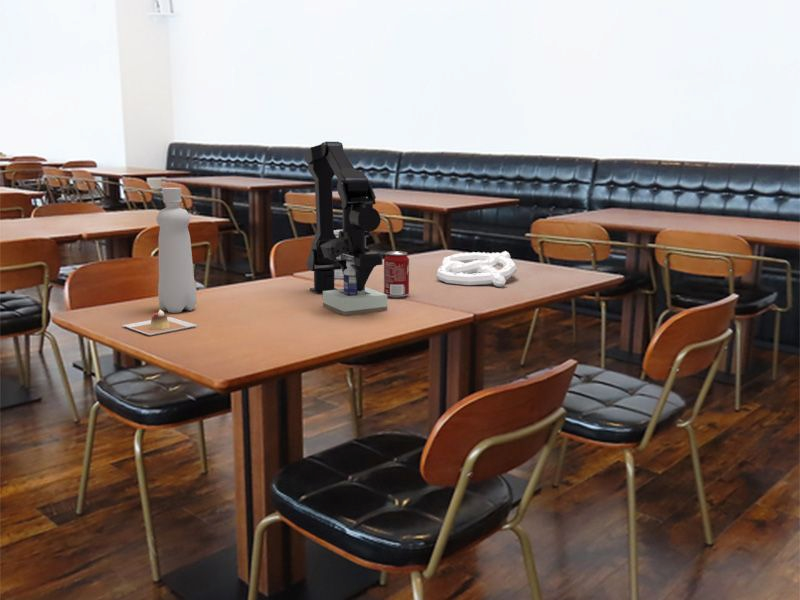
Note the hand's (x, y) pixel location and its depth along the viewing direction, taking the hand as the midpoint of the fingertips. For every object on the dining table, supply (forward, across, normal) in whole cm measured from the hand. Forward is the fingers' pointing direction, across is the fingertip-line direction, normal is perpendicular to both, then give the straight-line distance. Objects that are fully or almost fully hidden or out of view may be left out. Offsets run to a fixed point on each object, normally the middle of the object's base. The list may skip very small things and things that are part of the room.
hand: (354, 289), depth 194 cm
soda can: (+5, -8, +17) cm, 19 cm away
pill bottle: (+3, 0, 0) cm, 3 cm away
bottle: (+5, -20, -39) cm, 44 cm away
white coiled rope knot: (+5, -19, +52) cm, 56 cm away
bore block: (+5, 0, 0) cm, 5 cm away
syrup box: (+5, -41, +17) cm, 45 cm away
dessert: (+6, -4, -48) cm, 48 cm away
